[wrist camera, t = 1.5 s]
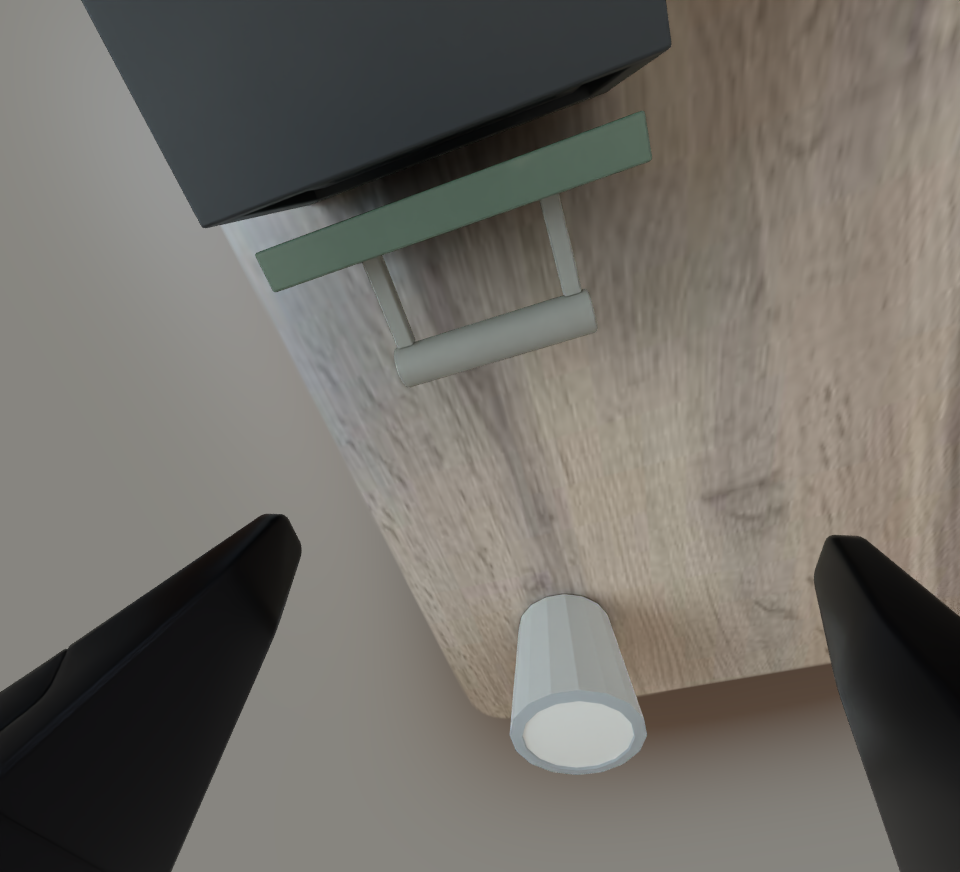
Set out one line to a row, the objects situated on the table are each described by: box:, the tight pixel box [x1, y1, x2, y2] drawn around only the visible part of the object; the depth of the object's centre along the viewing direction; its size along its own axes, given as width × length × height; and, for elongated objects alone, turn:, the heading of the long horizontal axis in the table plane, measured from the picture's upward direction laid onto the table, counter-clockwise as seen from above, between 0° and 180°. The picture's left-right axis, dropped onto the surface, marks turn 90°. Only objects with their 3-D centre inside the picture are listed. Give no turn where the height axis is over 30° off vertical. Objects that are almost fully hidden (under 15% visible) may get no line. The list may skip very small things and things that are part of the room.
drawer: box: [255, 86, 652, 387], centre depth 16 cm, size 17×11×7 cm, turn 18°
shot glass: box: [510, 594, 647, 775], centre depth 29 cm, size 7×7×7 cm
